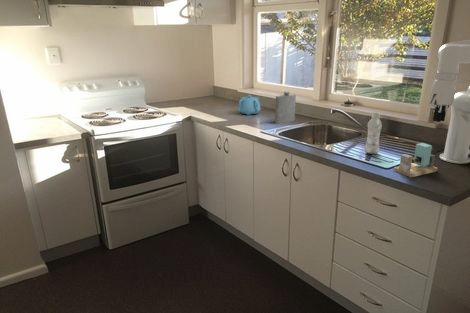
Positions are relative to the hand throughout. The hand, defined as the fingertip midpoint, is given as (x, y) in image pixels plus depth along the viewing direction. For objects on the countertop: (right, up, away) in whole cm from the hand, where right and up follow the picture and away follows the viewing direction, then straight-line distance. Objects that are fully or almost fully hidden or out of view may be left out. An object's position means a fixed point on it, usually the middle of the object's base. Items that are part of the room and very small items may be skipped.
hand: (438, 120), depth 155 cm
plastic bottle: (-19, -14, +26) cm, 35 cm away
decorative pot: (-76, +16, +114) cm, 138 cm away
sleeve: (-6, -18, +3) cm, 20 cm away
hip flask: (-53, +8, +89) cm, 104 cm away
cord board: (-8, -21, +3) cm, 23 cm away
